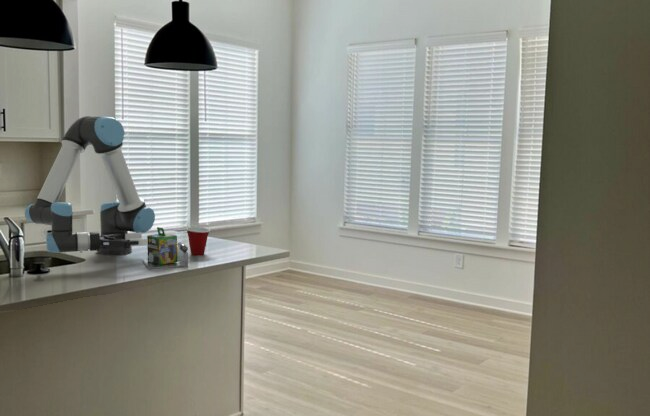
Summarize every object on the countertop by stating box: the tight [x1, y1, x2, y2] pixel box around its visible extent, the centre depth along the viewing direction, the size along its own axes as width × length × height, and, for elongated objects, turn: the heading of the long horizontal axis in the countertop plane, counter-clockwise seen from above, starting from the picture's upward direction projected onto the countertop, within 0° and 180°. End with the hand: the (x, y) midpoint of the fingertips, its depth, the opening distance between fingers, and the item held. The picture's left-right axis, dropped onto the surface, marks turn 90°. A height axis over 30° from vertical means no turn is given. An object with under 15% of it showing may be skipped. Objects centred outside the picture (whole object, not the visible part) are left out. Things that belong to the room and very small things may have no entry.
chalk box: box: [146, 226, 178, 265], centre depth 256 cm, size 9×9×15 cm
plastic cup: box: [185, 226, 211, 256], centre depth 280 cm, size 11×11×12 cm
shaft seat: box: [142, 241, 189, 270], centre depth 256 cm, size 16×16×8 cm
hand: (144, 239), depth 252 cm, fingers open, 13 cm apart
